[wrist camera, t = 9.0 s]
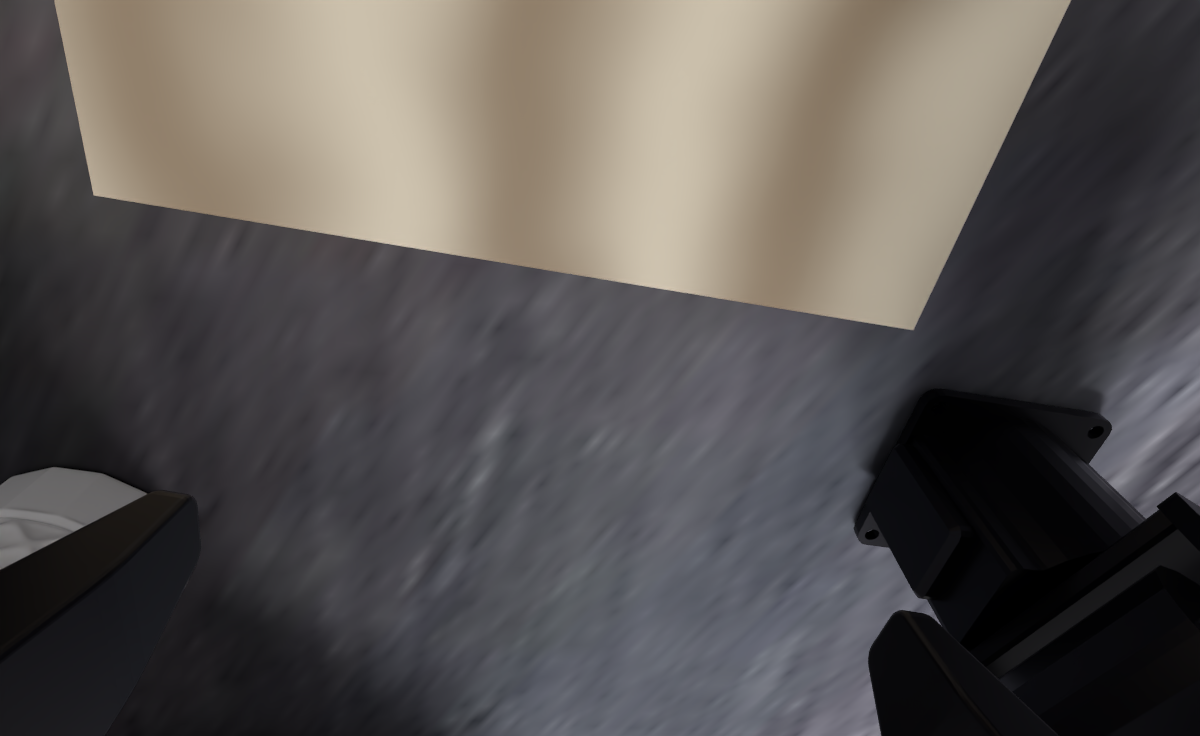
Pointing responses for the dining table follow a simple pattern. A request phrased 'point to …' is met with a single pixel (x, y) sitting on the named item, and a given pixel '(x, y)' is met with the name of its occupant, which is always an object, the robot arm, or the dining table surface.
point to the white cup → (54, 507)
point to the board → (576, 130)
